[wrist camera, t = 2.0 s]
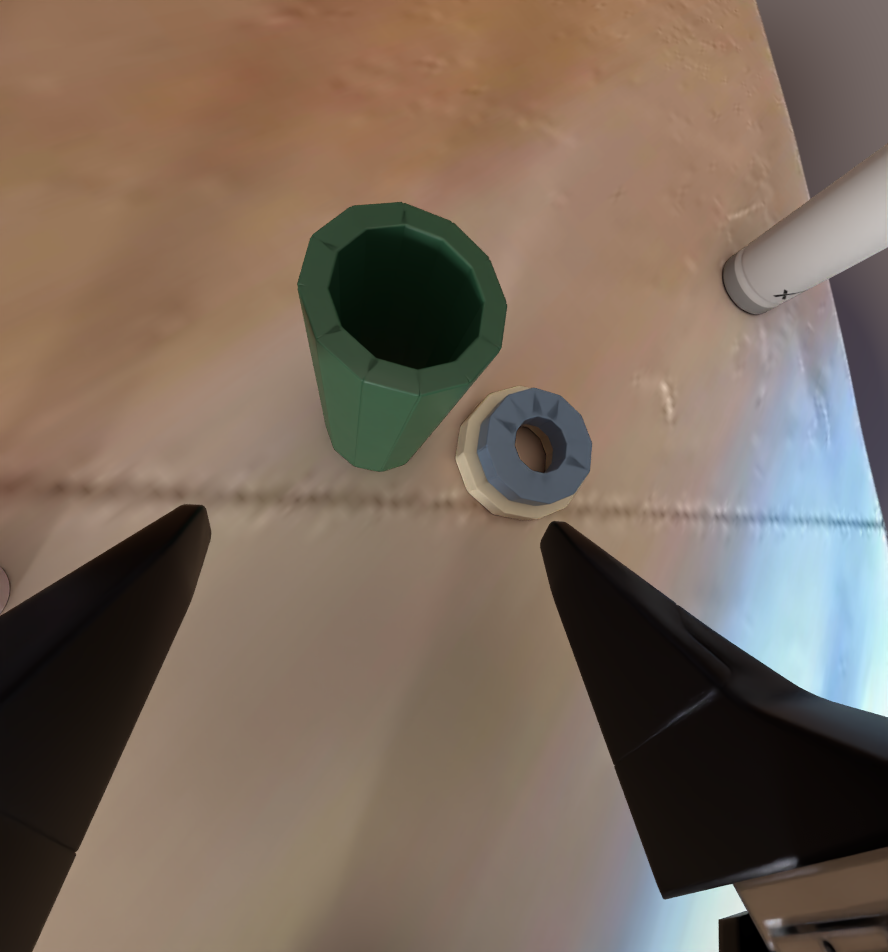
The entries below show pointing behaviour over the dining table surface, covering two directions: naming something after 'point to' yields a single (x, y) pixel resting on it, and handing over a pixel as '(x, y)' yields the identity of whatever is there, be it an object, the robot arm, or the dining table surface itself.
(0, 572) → the smoothie
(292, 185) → the dining table surface
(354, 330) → the green pencil cup
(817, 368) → the dining table surface
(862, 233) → the travel mug
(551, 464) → the ring stack
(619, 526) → the dining table surface
